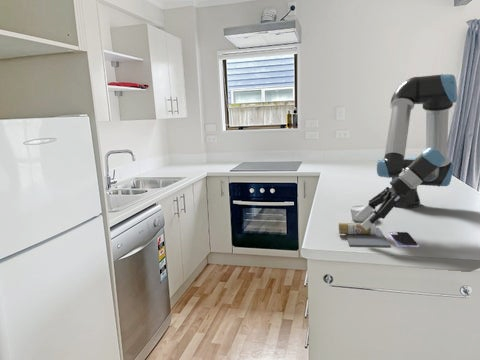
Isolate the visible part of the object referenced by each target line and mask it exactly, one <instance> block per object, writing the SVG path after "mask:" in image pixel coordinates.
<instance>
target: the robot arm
mask: <svg viewBox="0 0 480 360" xmlns="http://www.w3.org/2000/svg"><path fill="white" fill-rule="evenodd" d="M456 80H457V79H456V76H455V75H454V74H450V73H449V74H448V73H447V74H443V73H442V74H432V75H423V76H422V75H421V76H413V77H410V78H408V79H407V80H405V81H403V82H402V83H401V84H400V85H399V86H398V87H397V88H396V90H395V91H394V93H393V94H392V96H391V98H390V99H391V100H390V105H389V106H390V108H391V113H390V120H389V125H388V130H387V131H388V133H387V139H386V145H385V150H384V158H379V159H378V160H377V164H376V173H377V176H378V177H380V178H387V179H390V178H391V181H390V182H389V184H390V186H391V187H389V186H387V187H386V188H384V189H383V190H382V191H380V192H379V193H377V194H376V195H375V196H374V197H372V198H371V199H369V200H368V204H367V205H365V206H366V207H365V208H364V209H362V210H361V211H360V212H359V213H358V214H357V215H356V216H357V217H358V218H359V219H360V220H362V219H363V218H365V217H366V216H367V215H368V214H369V213H370V212H371V211H372V210H373V209H374V210H375V208H377V207H378V206H379V208H378V209H376V211H374V213H373V214H372V215H371V216H370V217H369V218H368V219H367V220H365V221H364V222H361V223H362V224H361V226H362V227H363V228H364V229H365V230H367V229H369V228H370V227H371V226H372V225H373V224H375V223H377V222H378V221H379V220H380V219H383V220H384V219H385V218H386V217H387V216H388V214H389V213H391V210H393V208H394V207H395V208H403V209H408V208H409V209H410V208H417V207H419V206H421V199H420V195H419V193H418V187H419V186H433V187H448V186H450V184H451V182H452V177H453V172H454V167H455V166H454V165H455V163H454V162H453V161H451V158H450V157H449V156H448V137H449V134H448V132H449V113H450V112H449V111H450V109H451V108H453V107H454V103H457V102H458V86H457V81H456ZM415 105H422V109H423V110H424V111H425V112H426V117H425V119H426V120H425V122H426V123H425V127H426V128H425V129H426V130H425V131H426V133H425V150H424V151H421V153H420V154H419V155H418V156H417V157H410V158H405V157H406V156H405V155H406V149H407V142H408V141H407V140H408V136H409V135H408V134H409V126H410V120H411V113H412V110H414V107H415ZM372 208H373V209H372Z"/></svg>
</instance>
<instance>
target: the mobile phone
mask: <svg viewBox="0 0 480 360" xmlns="http://www.w3.org/2000/svg"><path fill="white" fill-rule="evenodd" d="M388 235H389V237H390V238H391V240H392V241H393V243H394V244H395V245H396V246H397V247H399V248H419V247H420V244H419V243H418V242H417V241H416V240H415V239H414V237H413V236H412V235H411V234H410V233H409V232H407V231H391V232H388Z"/></svg>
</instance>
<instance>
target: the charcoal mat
mask: <svg viewBox="0 0 480 360" xmlns="http://www.w3.org/2000/svg"><path fill="white" fill-rule="evenodd" d="M375 229H376V231H375V235H370V234H344V235H345V238H346V240H347V243H348V246H349V247H365V248H366V247H368V248H370V247H371V248H372V247H373V248H376V247H377V248H391V247H392V246H391V244H390V242H389V241H388V239H387V237H385V235H384V233H383V232H382V230H381V229H380V227H375Z"/></svg>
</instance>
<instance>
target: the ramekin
mask: <svg viewBox="0 0 480 360" xmlns="http://www.w3.org/2000/svg"><path fill="white" fill-rule="evenodd" d="M366 206H367V205H361V204H360V205H352V206H350V208H349V209H350V215H351V218H352V220H353V221H354V222H357V223H363V222H364V221H365V220H367V219H368V218H369V217H370V216H371V215H372V214H373V213H374V211H376V212H377V207H375V210H374V209H373V208H372V209H373V210H372V211H371V212H370V213H369V214H368V215H367V216H366V217H365V218H363V219H362V220H360V219H359V218H358V217H357V216H356V215H357V214H358V213H359V212H360V211H361V210H362V209H364V208H365V207H366Z"/></svg>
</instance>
